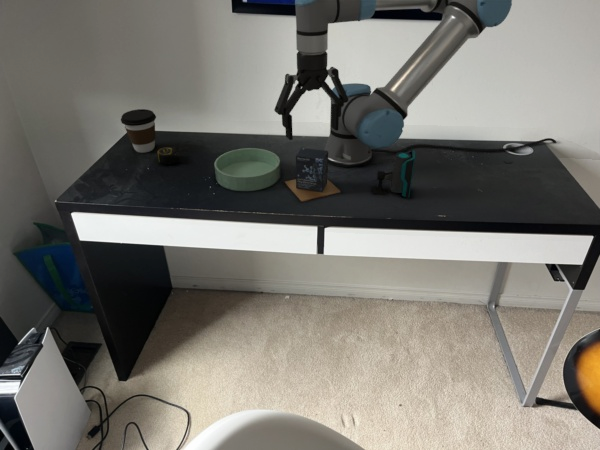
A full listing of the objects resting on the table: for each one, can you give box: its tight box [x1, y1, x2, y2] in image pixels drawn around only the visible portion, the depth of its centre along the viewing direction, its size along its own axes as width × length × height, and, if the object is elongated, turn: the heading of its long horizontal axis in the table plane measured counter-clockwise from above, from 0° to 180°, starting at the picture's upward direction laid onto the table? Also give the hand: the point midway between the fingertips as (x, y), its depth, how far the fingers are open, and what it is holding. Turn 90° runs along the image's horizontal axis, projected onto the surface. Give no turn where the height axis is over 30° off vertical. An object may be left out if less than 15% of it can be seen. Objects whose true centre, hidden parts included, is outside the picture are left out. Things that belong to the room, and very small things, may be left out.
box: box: [295, 146, 329, 192], centre depth 132 cm, size 8×6×11 cm
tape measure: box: [155, 146, 181, 165], centre depth 149 cm, size 7×7×4 cm
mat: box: [284, 178, 341, 203], centre depth 135 cm, size 12×12×1 cm
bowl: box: [213, 147, 281, 192], centre depth 141 cm, size 19×19×4 cm
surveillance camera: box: [372, 150, 416, 199], centre depth 130 cm, size 6×12×10 cm
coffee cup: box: [120, 108, 157, 154], centre depth 155 cm, size 11×11×12 cm
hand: (312, 133), depth 127 cm, fingers open, 13 cm apart
